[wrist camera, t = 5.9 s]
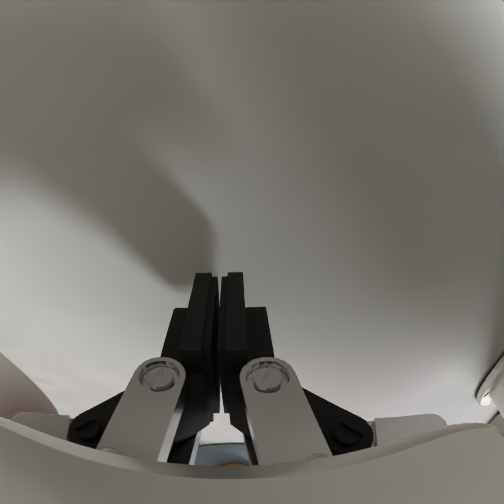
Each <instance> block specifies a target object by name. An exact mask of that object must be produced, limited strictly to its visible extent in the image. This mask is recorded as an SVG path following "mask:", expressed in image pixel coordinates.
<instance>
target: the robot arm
mask: <svg viewBox="0 0 504 504" xmlns="http://www.w3.org/2000/svg"><path fill="white" fill-rule="evenodd" d="M220 383H221V391H222V399H223V406H224V413H229V414H230V423H231V425H233V426H234V427H235V428H237V429H238V430H239V431H241V432H242V434H243V440H244V444H245V448H246V452H247V456H248V460H249V464H250V466H204V465H194V462H195V458H196V454H197V450H198V446H199V442H200V438H201V430H202V429H203V428H205V427H206V426H207V425H209V424H210V422H213V413H219V412H220ZM477 401H478V403H479V405H480V406H486V405H488V404H490V403H492V402H494V404H495V405H496V407H497V408H498V410H499V411H500V413H501V415H502V416H503V418H504V355H503V356H502V358H501V359H500V360H499V361H498V363H497V364H496V365H495V367H494V368H493V369H492V371H491V372H490V373H489V375H488V376H487V378H486V379H485V381H484V382H483V384H482V386H481V387H480V389H479V391H478V394H477ZM0 504H504V433H503V432H502V431H501V430H499V429H498V428H497V427H494V426H492V425H489V424H483V423H462V424H453V425H448V426H447V424H446V421H445V420H444V419H443V418H441V417H440V416H438V415H435V414H422V415H413V416H402V417H388V418H375V419H374V420H373V421H365V420H364V419H362V418H361V417H359V416H357V415H355V414H353V413H351V412H349V411H347V410H344V409H342V408H340V407H338V406H336V405H334V404H333V403H331V402H329V401H327V400H325V399H323V398H321V397H319V396H317V395H315V394H313V393H312V392H310V391H308V390H306V389H304V388H302V387H301V385H300V382H299V380H298V378H297V376H296V374H295V371H294V370H293V368H292V367H291V366H290V365H289V364H288V363H286V362H285V361H283V360H280V359H278V358H274V352H273V346H272V340H271V334H270V328H269V323H268V317H267V311H266V307H245V300H244V283H243V272H228V276H225V277H222V282H221V296H220V306H219V291H218V277H212V273H196V276H195V280H194V284H193V288H192V292H191V296H190V300H189V305H188V308H175V309H174V311H173V314H172V317H171V321H170V324H169V328H168V331H167V335H166V338H165V342H164V346H163V349H162V353H161V357H157V358H152V359H149V360H147V361H145V362H143V363H142V364H141V365H139V366H138V368H137V369H136V370H135V372H134V374H133V376H132V378H131V380H130V382H129V384H128V385H127V387H126V389H125V391H123V392H121V393H119V394H118V395H116V396H114V397H112V398H110V399H108V400H106V401H104V402H103V403H101V404H99V405H97V406H95V407H93V408H91V409H89V410H87V411H85V412H83V413H81V414H80V415H78V416H77V417H75V418H74V419H72V418H71V417H70V416H69V415H51V414H39V413H29V412H21V413H18V414H16V415H15V416H14V417H13V418H12V420H8V419H4V418H1V417H0Z"/></svg>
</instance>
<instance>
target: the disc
mask: <svg viewBox="0 0 504 504" xmlns="http://www.w3.org/2000/svg"><path fill="white" fill-rule="evenodd" d="M227 464H244V465H248V466H250V464H249V460H248V456H247V452H246V448H245V444H218V445H207V446H199V447H198V450H197V454H196V458H195V462H194V465H204V466H223V465H227Z"/></svg>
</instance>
